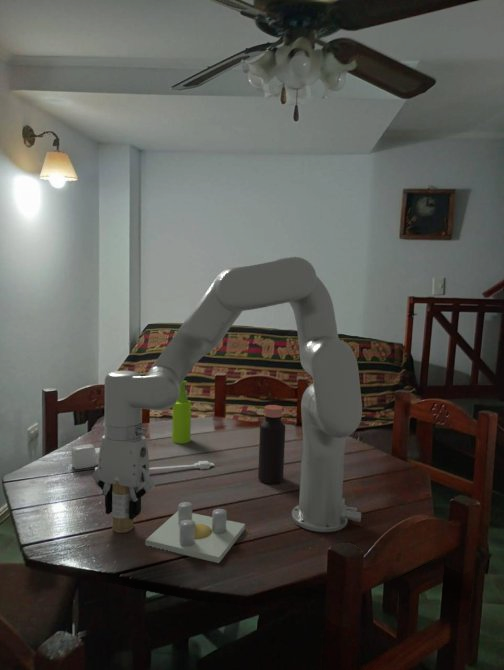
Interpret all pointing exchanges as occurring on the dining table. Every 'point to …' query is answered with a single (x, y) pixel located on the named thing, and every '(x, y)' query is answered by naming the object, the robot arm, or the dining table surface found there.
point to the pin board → (197, 534)
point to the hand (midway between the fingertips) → (122, 513)
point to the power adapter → (84, 456)
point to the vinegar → (271, 446)
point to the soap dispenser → (181, 417)
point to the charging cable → (185, 466)
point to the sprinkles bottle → (121, 508)
